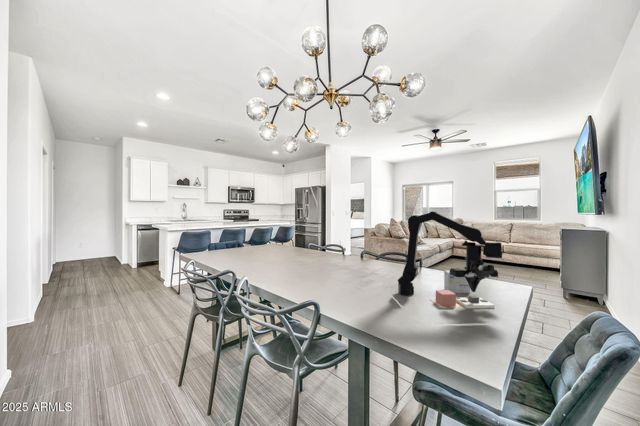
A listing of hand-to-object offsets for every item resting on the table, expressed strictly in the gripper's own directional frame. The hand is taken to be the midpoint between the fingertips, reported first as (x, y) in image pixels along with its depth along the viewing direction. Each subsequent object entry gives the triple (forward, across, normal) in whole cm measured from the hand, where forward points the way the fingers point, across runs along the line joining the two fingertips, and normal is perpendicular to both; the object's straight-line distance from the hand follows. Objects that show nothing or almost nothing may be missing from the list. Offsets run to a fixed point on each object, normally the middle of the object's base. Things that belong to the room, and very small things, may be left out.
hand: (473, 291), depth 118 cm
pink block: (+5, -12, +1) cm, 13 cm away
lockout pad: (+6, -12, +1) cm, 13 cm away
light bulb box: (+6, +3, +19) cm, 20 cm away
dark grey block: (+4, 0, 0) cm, 4 cm away
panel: (+6, 0, 0) cm, 6 cm away
